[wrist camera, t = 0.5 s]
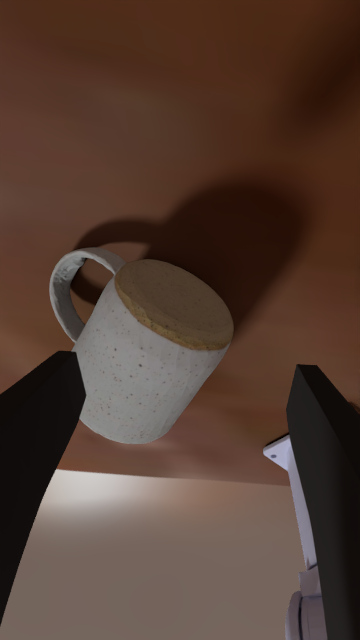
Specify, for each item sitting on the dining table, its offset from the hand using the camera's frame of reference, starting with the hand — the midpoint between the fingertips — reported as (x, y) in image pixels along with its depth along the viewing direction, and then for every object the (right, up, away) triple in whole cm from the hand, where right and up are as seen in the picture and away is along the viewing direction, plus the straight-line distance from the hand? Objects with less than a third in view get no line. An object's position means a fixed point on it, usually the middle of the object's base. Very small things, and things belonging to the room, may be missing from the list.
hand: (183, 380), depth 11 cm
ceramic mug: (-3, +3, +11) cm, 12 cm away
